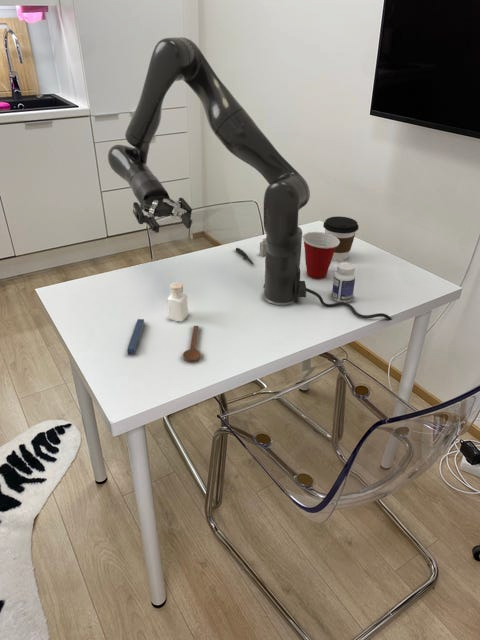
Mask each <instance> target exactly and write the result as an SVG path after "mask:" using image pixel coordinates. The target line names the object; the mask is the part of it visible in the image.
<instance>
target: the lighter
mask: <svg viewBox="0 0 480 640" xmlns="http://www.w3.org/2000/svg"><path fill="white" fill-rule="evenodd" d="M259 256H260V257H265V256H266V237H265V238H263V239H262V241H261V242H260V241H259Z"/></svg>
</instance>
